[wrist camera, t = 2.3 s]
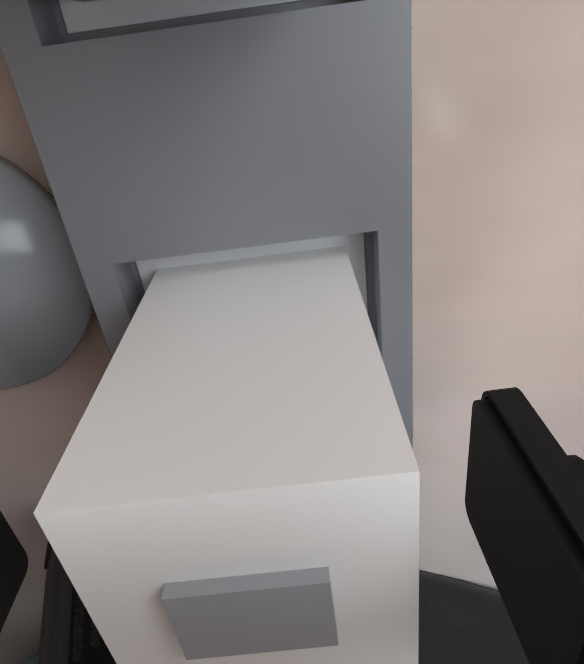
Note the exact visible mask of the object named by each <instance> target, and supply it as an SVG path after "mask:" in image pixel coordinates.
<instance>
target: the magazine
mask: <svg viewBox="0 0 584 664" xmlns="http://www.w3.org/2000/svg"><path fill="white" fill-rule="evenodd" d="M44 569H47V573H46V582H45V593H44V604H43V615H42V626H41V637H40V648H39V659H38V664H117V663H116V662H115V660H114V658H113V656H112V654H111V653H110V651H109V649H108V647H107V645H106V644H105V642H104V640H103V638H102V636H101V635H100V633H99V631H98V629H97V627H96V626H95V624H94V622H93V620H92V618H91V617H90V615H89V613H88V611H87V609H86V607H85V606H84V604H83V602H82V600H81V598H80V597H79V595H78V593H77V591H76V589H75V588H74V586H73V584H72V582H71V580H70V579H69V577H68V575H67V573H66V571H65V570H64V568H63V566H62V564H61V562H60V561H59V559H58V557H57V555H56V553H55V552H54V550H53V548H52V546H51V544H50V543H49V541H48V543H47V549H46V555H45V564H44ZM418 664H529V662H528V659H527V657H526V655H525V652H524V650H523V648H522V645H521V643H520V640H519V638H518V636H517V633H516V631H515V628H514V626H513V624H512V621H511V619H510V617H509V614H508V612H507V609H506V607H505V605H504V602H503V600H502V597H501V595H500V593H499V591H496V590H493V589H490V588H486V587H483V586H479V585H476V584H473V583H469V582H466V581H463V580H459V579H455V578H450V577H446V576H442V575H438V574H434V573H430V572H425V571H421V570H419V645H418Z"/></svg>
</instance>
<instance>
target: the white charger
mask: <svg viewBox="0 0 584 664" xmlns="http://www.w3.org/2000/svg"><path fill="white" fill-rule="evenodd" d="M419 496H420V471H419V468H418V465H417V462H416V459H415V456H414V453H413V450H412V447H411V444H410V441H409V438H408V435H407V432H406V429H405V426H404V423H403V420H402V417H401V414H400V411H399V408H398V405H397V402H396V399H395V395H394V392H393V389H392V386H391V383H390V380H389V377H388V374H387V371H386V368H385V365H384V362H383V359H382V356H381V353H380V350H379V347H378V344H377V341H376V338H375V335H374V332H373V329H372V326H371V323H370V320H369V317H368V314H367V311H366V308H365V305H364V302H363V299H362V296H361V293H360V290H359V287H358V284H357V281H356V278H355V275H354V272H353V269H352V266H351V263H350V260H349V257H348V254H347V251H346V248H345V246H339V247H331V248H323V249H315V250H307V251H299V252H291V253H283V254H275V255H267V256H259V257H251V258H243V259H235V260H227V261H219V262H211V263H203V264H195V265H187V266H179V267H171V268H163V269H157V271H156V273H155V275H154V277H153V279H152V281H151V283H150V285H149V287H148V289H147V291H146V292H145V294H144V296H143V298H142V300H141V302H140V304H139V306H138V308H137V310H136V312H135V314H134V316H133V318H132V320H131V322H130V324H129V326H128V328H127V330H126V332H125V334H124V336H123V338H122V340H121V342H120V344H119V346H118V348H117V350H116V352H115V354H114V355H113V357H112V359H111V361H110V363H109V365H108V367H107V369H106V371H105V373H104V375H103V377H102V379H101V381H100V383H99V385H98V387H97V389H96V391H95V393H94V395H93V397H92V399H91V401H90V403H89V405H88V407H87V409H86V411H85V413H84V415H83V417H82V418H81V420H80V422H79V424H78V426H77V428H76V430H75V432H74V434H73V436H72V438H71V440H70V442H69V444H68V446H67V448H66V450H65V452H64V454H63V456H62V458H61V460H60V462H59V464H58V466H57V468H56V470H55V472H54V474H53V476H52V478H51V479H50V481H49V483H48V485H47V487H46V489H45V491H44V493H43V495H42V497H41V499H40V501H39V503H38V505H37V507H36V509H35V511H34V513H33V514H34V515H35V517H36V519H37V521H38V523H39V524H40V526H41V528H42V530H43V532H44V533H45V535H46V537H47V539H48V541H49V543H50V544H51V546H52V548H53V550H54V552H55V553H56V555H57V557H58V559H59V561H60V562H61V564H62V566H63V568H64V570H65V571H66V573H67V575H68V577H69V579H70V580H71V582H72V584H73V586H74V588H75V589H76V591H77V593H78V595H79V597H80V598H81V600H82V602H83V604H84V606H85V607H86V609H87V611H88V613H89V615H90V617H91V618H92V620H93V622H94V624H95V626H96V627H97V629H98V631H99V633H100V635H101V636H102V638H103V640H104V642H105V644H106V645H107V647H108V649H109V651H110V653H111V654H112V656H113V658H114V660H115V662H116V663H117V664H418V645H419Z"/></svg>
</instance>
